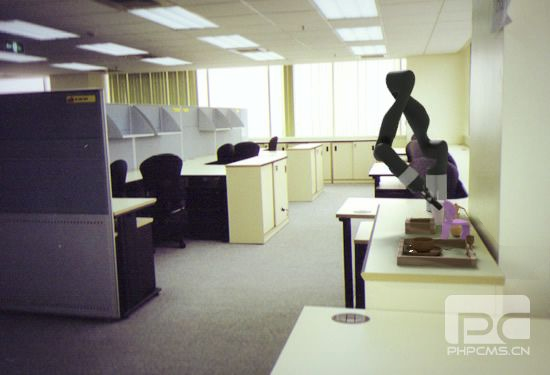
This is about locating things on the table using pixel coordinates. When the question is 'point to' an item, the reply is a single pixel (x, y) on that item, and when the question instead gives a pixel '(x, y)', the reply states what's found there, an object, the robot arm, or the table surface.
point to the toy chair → (453, 221)
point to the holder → (420, 225)
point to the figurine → (457, 229)
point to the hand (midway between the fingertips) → (441, 207)
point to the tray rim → (437, 260)
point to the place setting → (430, 246)
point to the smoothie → (438, 212)
